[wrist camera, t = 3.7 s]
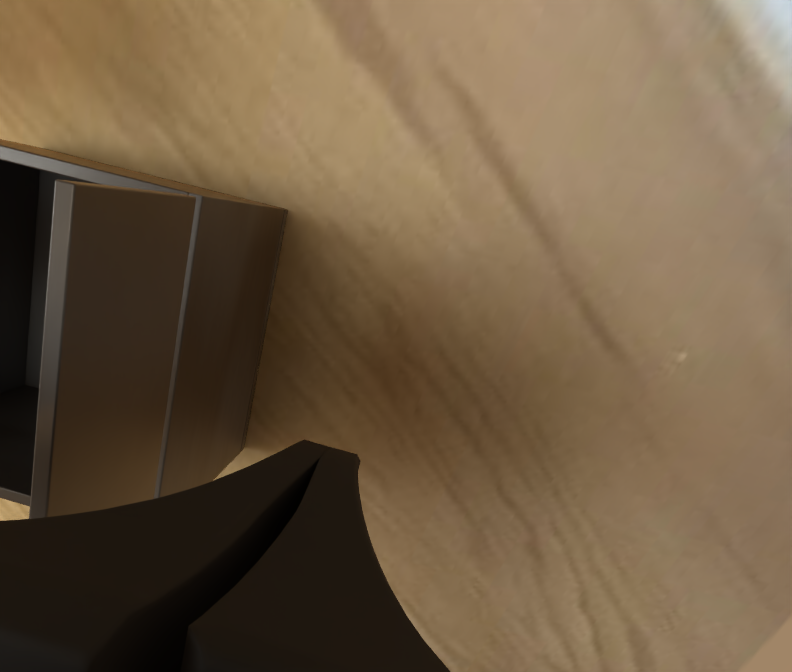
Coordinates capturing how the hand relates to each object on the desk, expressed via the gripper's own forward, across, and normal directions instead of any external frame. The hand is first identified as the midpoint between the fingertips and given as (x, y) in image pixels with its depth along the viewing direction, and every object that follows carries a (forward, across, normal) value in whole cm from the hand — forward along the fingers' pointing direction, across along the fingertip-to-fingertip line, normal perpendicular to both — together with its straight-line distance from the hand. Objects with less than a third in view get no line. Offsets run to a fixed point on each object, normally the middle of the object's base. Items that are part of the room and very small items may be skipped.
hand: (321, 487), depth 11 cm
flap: (0, +5, 0) cm, 5 cm away
